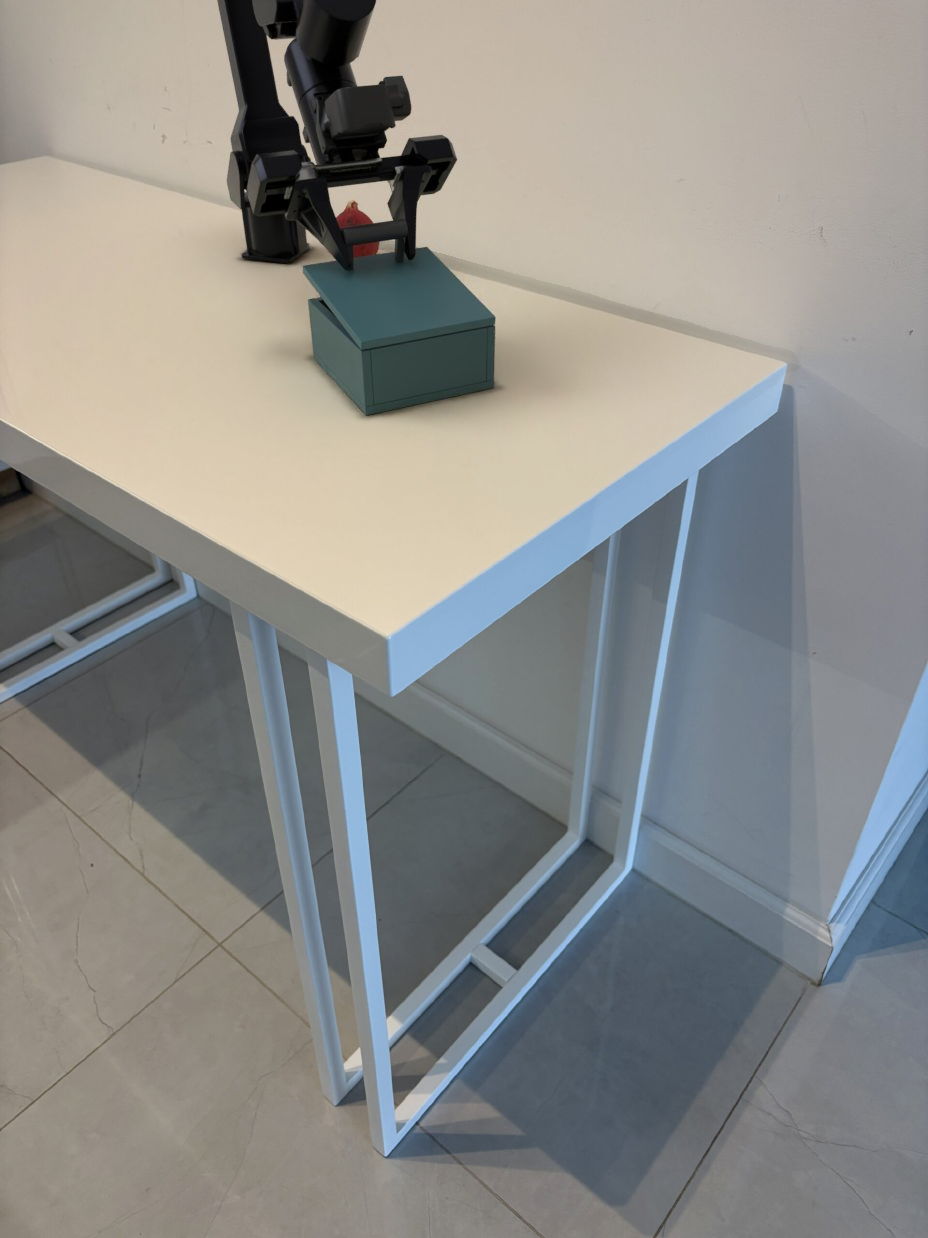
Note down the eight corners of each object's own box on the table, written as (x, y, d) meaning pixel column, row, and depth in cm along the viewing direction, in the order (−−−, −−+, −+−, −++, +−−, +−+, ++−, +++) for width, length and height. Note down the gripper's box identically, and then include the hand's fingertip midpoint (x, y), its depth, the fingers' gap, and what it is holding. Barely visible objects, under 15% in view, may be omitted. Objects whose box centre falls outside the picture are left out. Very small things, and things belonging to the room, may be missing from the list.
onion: (373, 283, 107) (369, 209, 102) (325, 280, 108) (318, 206, 103) (385, 266, 111) (382, 195, 106) (339, 263, 112) (333, 192, 107)
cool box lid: (302, 273, 86) (299, 223, 83) (426, 254, 90) (428, 206, 87) (361, 350, 77) (360, 298, 74) (495, 325, 82) (500, 274, 78)
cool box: (313, 358, 90) (307, 298, 87) (431, 335, 95) (430, 278, 91) (365, 415, 81) (361, 351, 77) (494, 387, 85) (495, 325, 82)
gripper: (238, 45, 74) (296, 231, 74) (449, 32, 81) (503, 202, 81) (225, 131, 85) (276, 294, 84) (413, 113, 91) (461, 264, 91)
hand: (380, 262), depth 85 cm, fingers closed on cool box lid, 6 cm apart
